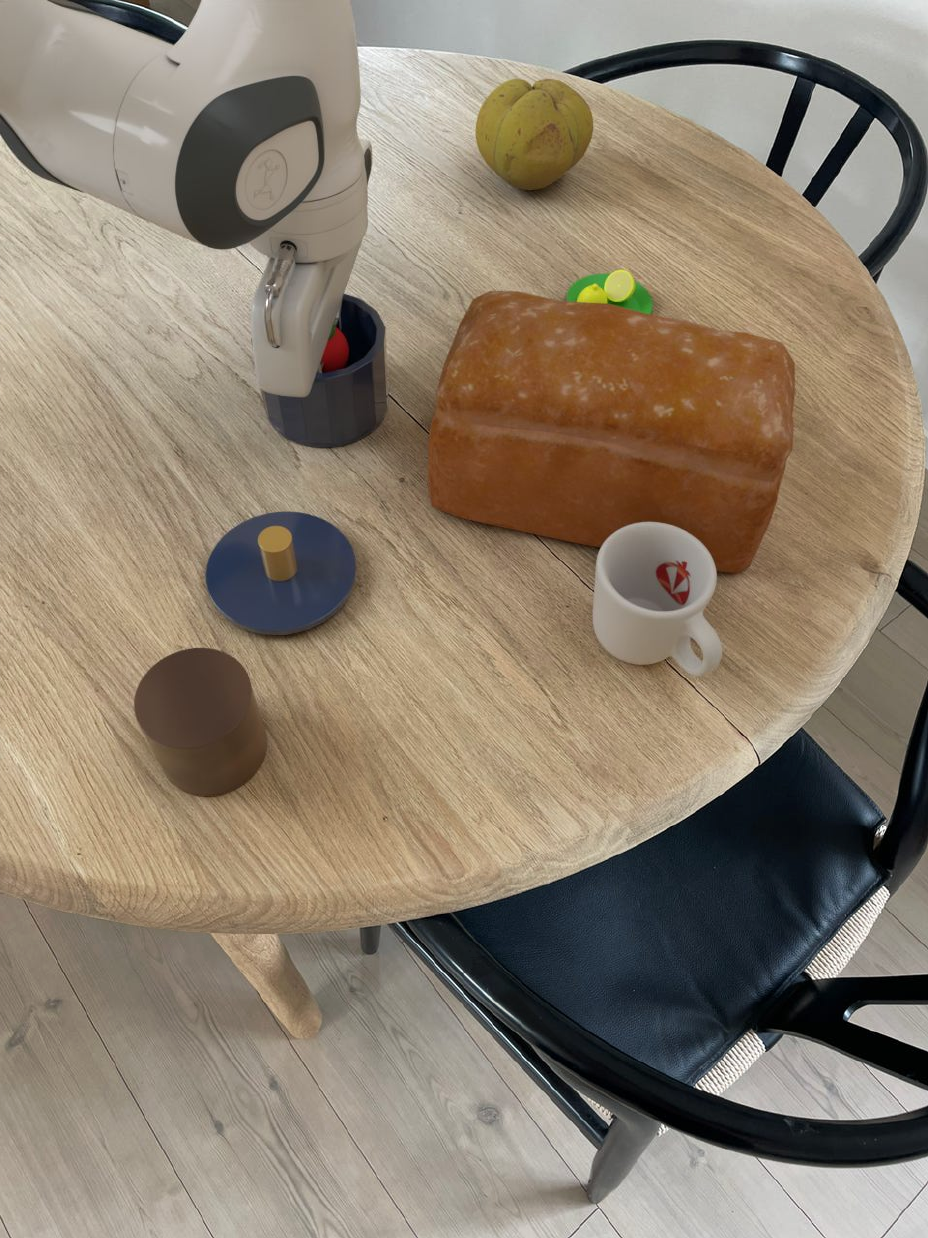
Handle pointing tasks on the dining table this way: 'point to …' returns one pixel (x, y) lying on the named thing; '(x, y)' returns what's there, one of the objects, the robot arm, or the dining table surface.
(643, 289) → the green dish with lemons
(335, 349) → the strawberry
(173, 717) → the stand
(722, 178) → the dining table surface
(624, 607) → the cup
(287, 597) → the pot lid
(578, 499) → the bread
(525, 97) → the fruit
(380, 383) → the pot
